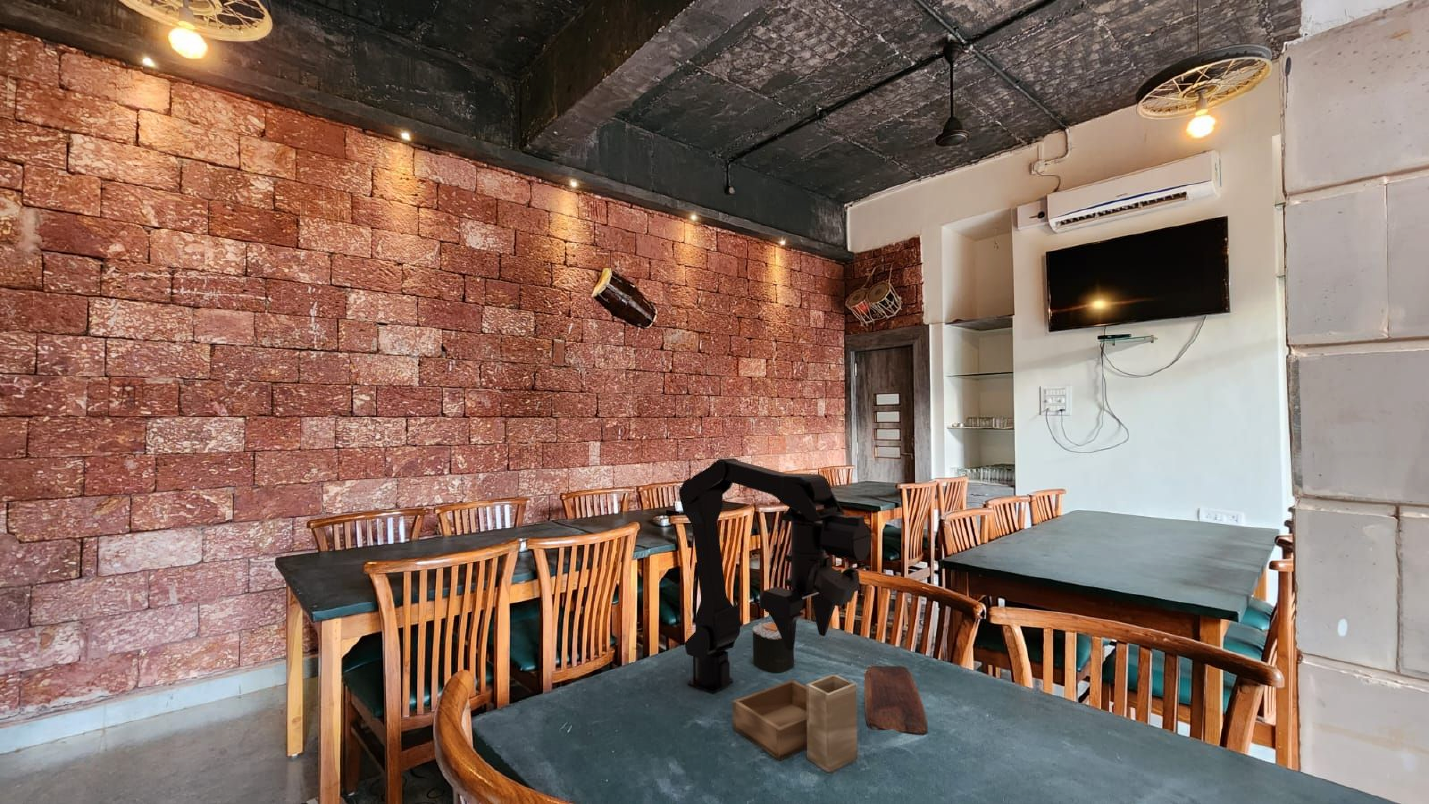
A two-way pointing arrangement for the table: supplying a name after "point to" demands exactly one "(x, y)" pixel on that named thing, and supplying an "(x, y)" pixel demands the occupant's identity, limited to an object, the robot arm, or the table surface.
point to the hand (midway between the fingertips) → (806, 642)
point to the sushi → (770, 649)
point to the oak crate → (774, 719)
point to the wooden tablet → (893, 700)
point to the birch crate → (831, 722)
